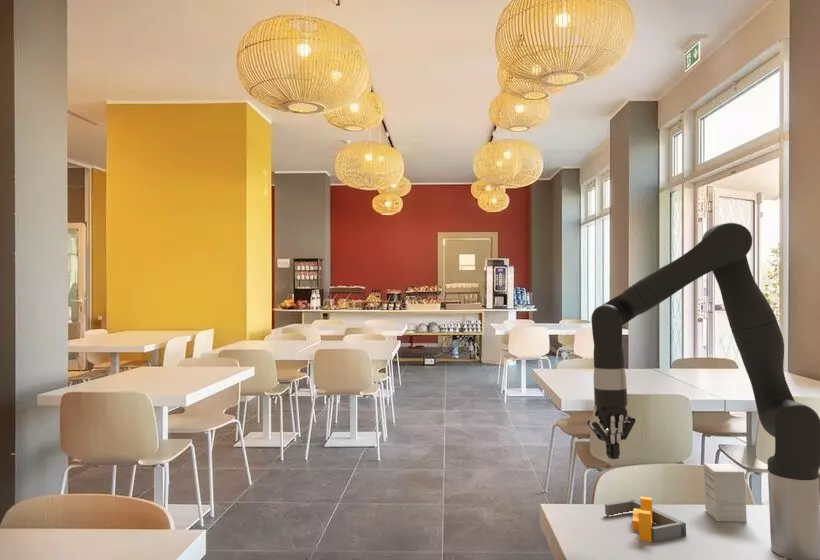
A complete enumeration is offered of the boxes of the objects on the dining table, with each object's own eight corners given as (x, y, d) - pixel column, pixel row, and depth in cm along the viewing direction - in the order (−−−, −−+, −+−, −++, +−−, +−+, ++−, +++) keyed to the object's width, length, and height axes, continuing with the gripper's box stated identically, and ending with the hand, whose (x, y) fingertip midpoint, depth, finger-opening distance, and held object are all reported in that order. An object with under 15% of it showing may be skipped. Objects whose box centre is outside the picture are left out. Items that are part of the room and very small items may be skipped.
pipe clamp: (634, 521, 138) (633, 495, 139) (652, 523, 136) (651, 497, 137) (631, 539, 127) (630, 511, 128) (651, 542, 126) (650, 514, 126)
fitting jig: (634, 510, 145) (634, 499, 145) (686, 535, 129) (685, 523, 129) (605, 515, 141) (604, 504, 142) (654, 542, 125) (654, 529, 126)
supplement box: (734, 511, 143) (732, 463, 144) (747, 522, 136) (745, 471, 137) (704, 510, 144) (702, 462, 145) (716, 521, 137) (714, 470, 138)
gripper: (597, 390, 126) (601, 465, 125) (643, 386, 131) (646, 459, 130) (577, 386, 133) (580, 457, 132) (621, 382, 138) (624, 451, 137)
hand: (613, 458), depth 131 cm, fingers closed
